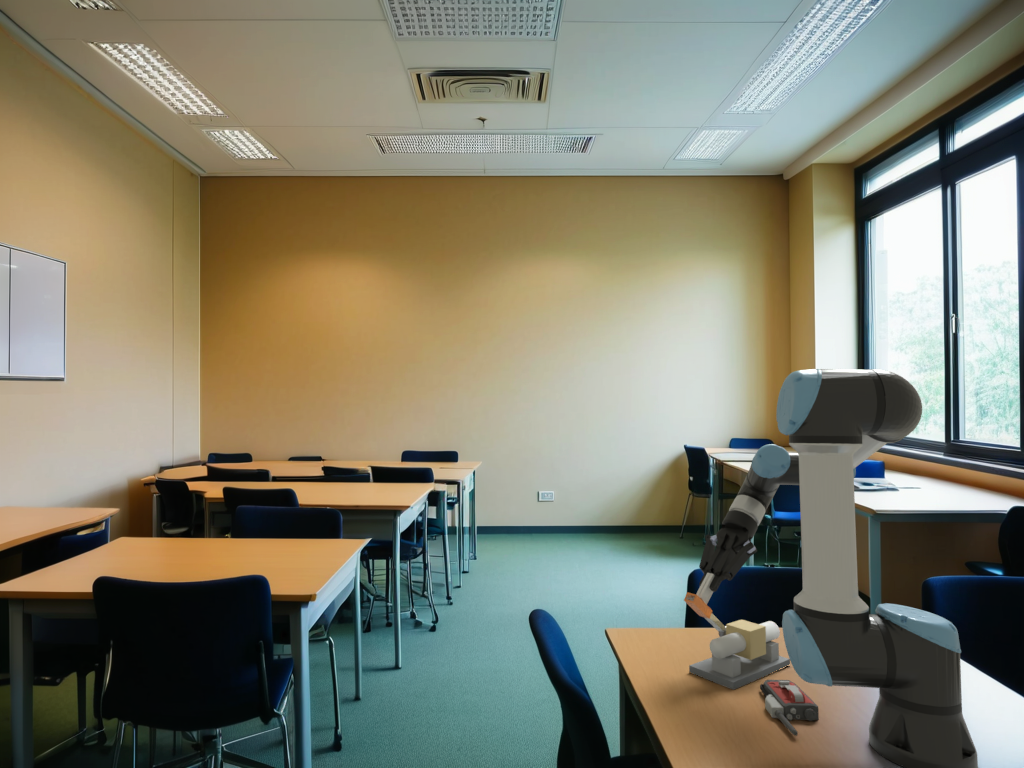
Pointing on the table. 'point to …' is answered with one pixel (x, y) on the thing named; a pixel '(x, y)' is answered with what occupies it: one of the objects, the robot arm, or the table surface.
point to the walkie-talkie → (788, 702)
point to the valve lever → (704, 612)
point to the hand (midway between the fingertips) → (700, 600)
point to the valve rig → (742, 654)
